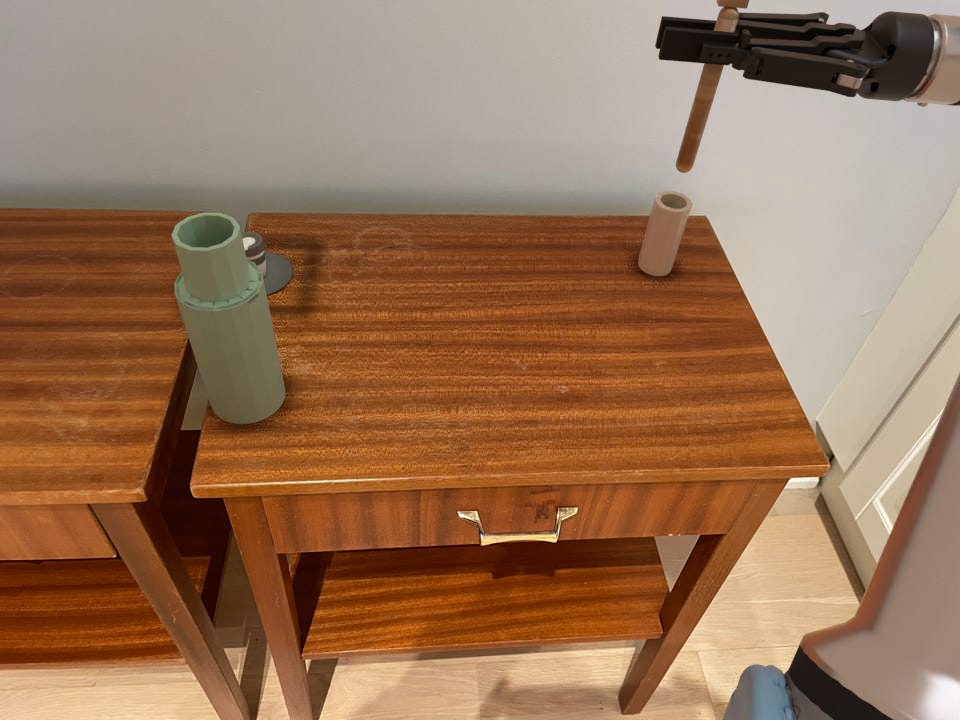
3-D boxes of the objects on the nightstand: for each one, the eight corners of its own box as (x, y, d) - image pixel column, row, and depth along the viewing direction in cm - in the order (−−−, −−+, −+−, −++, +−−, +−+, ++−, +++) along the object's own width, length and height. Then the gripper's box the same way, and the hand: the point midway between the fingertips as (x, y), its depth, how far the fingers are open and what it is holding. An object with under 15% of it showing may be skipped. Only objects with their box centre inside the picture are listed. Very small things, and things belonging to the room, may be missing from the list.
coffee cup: (314, 243, 85) (310, 207, 82) (303, 312, 77) (297, 276, 73) (209, 241, 84) (200, 205, 81) (186, 312, 76) (174, 275, 72)
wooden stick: (695, 177, 76) (763, -39, 61) (671, 175, 76) (732, -42, 61) (693, 168, 78) (758, -46, 63) (668, 166, 78) (728, -48, 63)
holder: (665, 280, 84) (686, 215, 78) (633, 268, 85) (650, 204, 79) (675, 262, 87) (696, 197, 80) (644, 251, 88) (662, 186, 81)
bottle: (253, 435, 65) (209, 270, 52) (194, 405, 67) (137, 239, 54) (300, 387, 70) (271, 222, 56) (244, 360, 72) (202, 195, 58)
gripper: (923, 135, 65) (660, 114, 65) (869, 64, 75) (643, 45, 75) (968, 51, 60) (682, 27, 59) (904, -13, 70) (660, -34, 70)
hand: (661, 37), depth 67 cm, fingers closed on wooden stick, 2 cm apart
